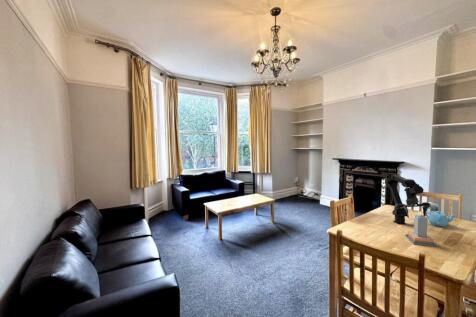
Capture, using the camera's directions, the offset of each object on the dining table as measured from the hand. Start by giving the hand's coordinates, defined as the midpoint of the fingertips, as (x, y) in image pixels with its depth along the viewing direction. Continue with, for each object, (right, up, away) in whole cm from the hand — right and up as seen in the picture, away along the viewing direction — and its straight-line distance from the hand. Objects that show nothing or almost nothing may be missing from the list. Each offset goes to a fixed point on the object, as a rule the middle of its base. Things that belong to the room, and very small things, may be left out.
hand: (416, 217), depth 151 cm
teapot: (+30, -10, +14) cm, 35 cm away
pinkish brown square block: (-6, -13, -10) cm, 17 cm away
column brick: (-6, -9, -10) cm, 15 cm away
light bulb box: (+43, -8, +36) cm, 56 cm away
